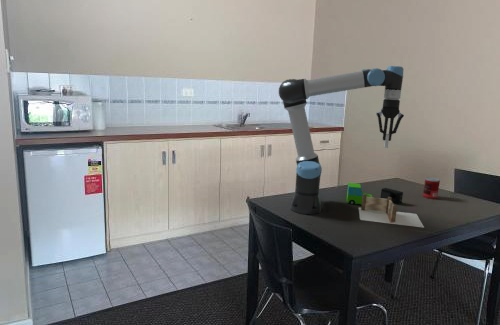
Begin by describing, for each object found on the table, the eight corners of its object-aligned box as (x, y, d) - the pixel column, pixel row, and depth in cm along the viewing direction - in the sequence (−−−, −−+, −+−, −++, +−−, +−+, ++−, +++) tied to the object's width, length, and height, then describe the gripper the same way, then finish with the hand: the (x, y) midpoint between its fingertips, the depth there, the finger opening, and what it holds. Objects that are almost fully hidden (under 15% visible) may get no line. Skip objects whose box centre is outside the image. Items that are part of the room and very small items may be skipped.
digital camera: (378, 201, 215) (380, 189, 213) (383, 199, 219) (385, 187, 217) (396, 206, 208) (398, 193, 206) (401, 204, 211) (403, 191, 210)
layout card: (360, 220, 182) (360, 219, 182) (358, 208, 200) (358, 207, 200) (424, 228, 176) (424, 227, 176) (416, 215, 195) (416, 213, 194)
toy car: (373, 208, 202) (375, 189, 200) (346, 205, 205) (348, 187, 203) (371, 202, 212) (373, 184, 210) (346, 199, 214) (348, 182, 212)
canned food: (438, 196, 229) (440, 178, 227) (436, 200, 222) (438, 181, 220) (423, 194, 233) (426, 176, 230) (421, 197, 226) (424, 179, 224)
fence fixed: (361, 210, 196) (362, 194, 194) (360, 209, 198) (362, 193, 196) (389, 213, 193) (391, 198, 191) (389, 212, 195) (391, 197, 193)
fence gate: (386, 212, 193) (388, 198, 191) (390, 213, 193) (392, 199, 191) (391, 221, 180) (393, 206, 179) (395, 222, 180) (397, 207, 179)
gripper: (378, 98, 187) (372, 147, 192) (407, 100, 184) (400, 149, 189) (377, 98, 194) (371, 144, 199) (404, 99, 191) (398, 147, 196)
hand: (385, 147), depth 194 cm, fingers closed
